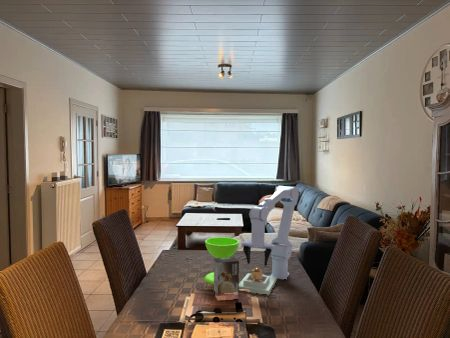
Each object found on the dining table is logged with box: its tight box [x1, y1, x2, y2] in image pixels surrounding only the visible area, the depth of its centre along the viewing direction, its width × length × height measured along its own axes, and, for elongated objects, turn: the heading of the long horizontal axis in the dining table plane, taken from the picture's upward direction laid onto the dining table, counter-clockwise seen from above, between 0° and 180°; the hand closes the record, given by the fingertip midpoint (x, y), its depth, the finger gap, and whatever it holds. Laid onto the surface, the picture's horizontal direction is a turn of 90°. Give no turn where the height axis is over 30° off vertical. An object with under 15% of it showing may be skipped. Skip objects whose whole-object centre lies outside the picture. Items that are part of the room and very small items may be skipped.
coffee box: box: [213, 256, 240, 294], centre depth 148 cm, size 9×6×16 cm
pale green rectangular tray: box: [239, 272, 278, 296], centre depth 162 cm, size 18×14×4 cm
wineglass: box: [204, 236, 240, 285], centre depth 169 cm, size 16×16×18 cm
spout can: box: [250, 267, 264, 282], centre depth 160 cm, size 5×5×6 cm
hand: (257, 264), depth 160 cm, fingers open, 7 cm apart
